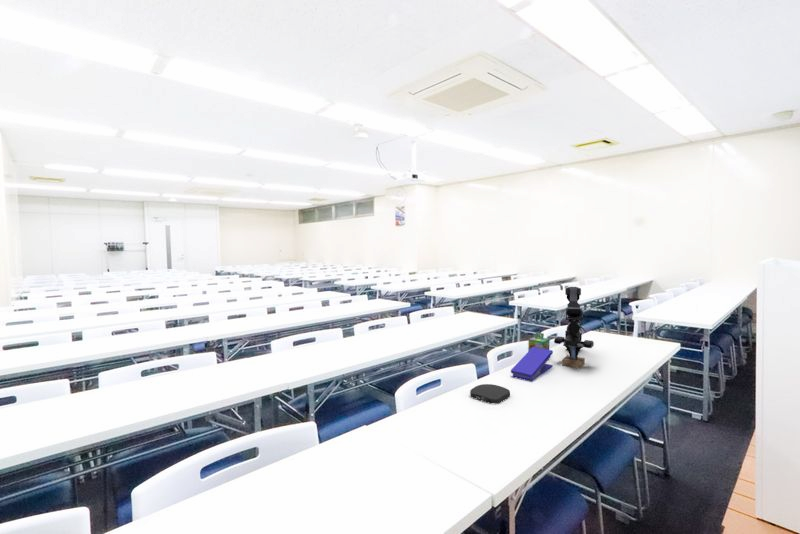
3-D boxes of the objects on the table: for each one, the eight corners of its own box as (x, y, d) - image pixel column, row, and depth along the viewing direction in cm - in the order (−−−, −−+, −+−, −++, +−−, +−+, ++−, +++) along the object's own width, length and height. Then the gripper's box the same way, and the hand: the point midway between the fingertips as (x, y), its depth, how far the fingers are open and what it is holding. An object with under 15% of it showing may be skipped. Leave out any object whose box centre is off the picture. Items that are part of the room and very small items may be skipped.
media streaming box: (513, 395, 171) (513, 389, 171) (496, 406, 161) (495, 399, 161) (484, 387, 181) (484, 381, 181) (466, 397, 171) (466, 390, 171)
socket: (562, 365, 208) (562, 359, 208) (567, 361, 215) (567, 355, 215) (580, 368, 203) (580, 362, 203) (584, 364, 210) (584, 357, 210)
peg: (570, 361, 209) (570, 347, 208) (571, 360, 211) (571, 346, 210) (575, 362, 207) (575, 347, 207) (576, 361, 209) (576, 346, 209)
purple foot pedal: (553, 367, 207) (553, 349, 206) (533, 382, 186) (532, 362, 185) (532, 363, 214) (532, 346, 214) (510, 377, 193) (510, 358, 193)
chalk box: (527, 359, 221) (527, 333, 220) (534, 355, 228) (534, 330, 227) (543, 362, 215) (543, 336, 214) (549, 358, 222) (549, 332, 221)
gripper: (551, 330, 207) (551, 358, 208) (588, 334, 196) (588, 364, 197) (557, 326, 216) (557, 353, 217) (593, 330, 204) (593, 359, 205)
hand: (573, 357), depth 209 cm, fingers closed on peg, 2 cm apart
